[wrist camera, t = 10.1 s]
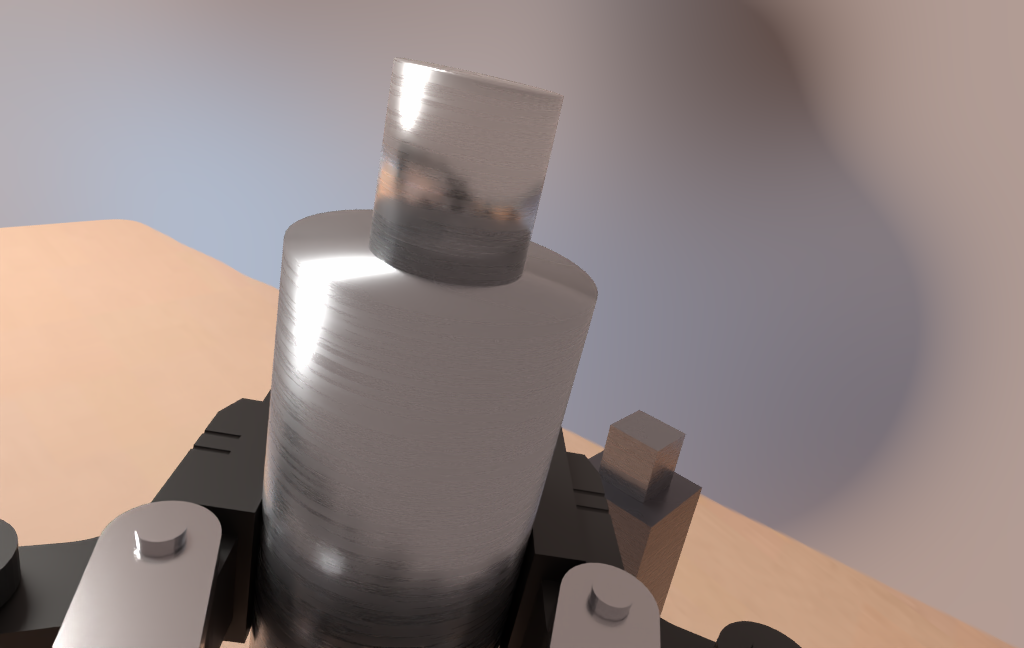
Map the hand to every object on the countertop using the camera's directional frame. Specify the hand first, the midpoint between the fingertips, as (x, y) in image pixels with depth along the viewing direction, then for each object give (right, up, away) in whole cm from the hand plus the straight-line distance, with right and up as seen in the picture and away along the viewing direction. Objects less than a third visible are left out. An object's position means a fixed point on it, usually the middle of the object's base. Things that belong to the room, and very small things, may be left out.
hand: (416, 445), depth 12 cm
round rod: (-2, -9, +1) cm, 9 cm away
